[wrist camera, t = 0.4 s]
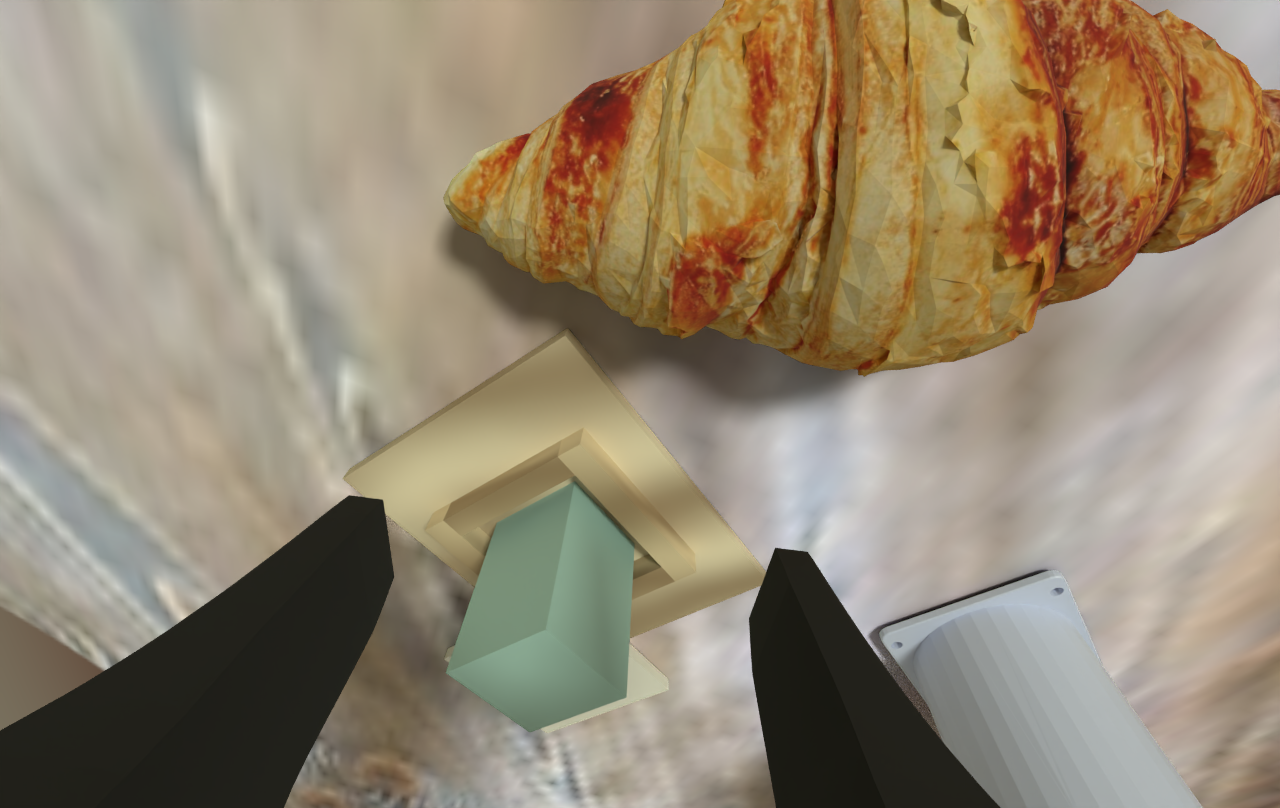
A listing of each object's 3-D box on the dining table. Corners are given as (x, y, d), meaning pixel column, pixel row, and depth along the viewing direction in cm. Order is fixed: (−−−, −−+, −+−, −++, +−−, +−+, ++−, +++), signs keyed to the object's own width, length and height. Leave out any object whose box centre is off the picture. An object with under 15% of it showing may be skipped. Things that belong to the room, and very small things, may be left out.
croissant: (516, 251, 21) (487, 444, 17) (382, -77, 13) (263, 161, 9) (1125, 202, 19) (1249, 409, 15) (1464, -228, 11) (1950, -6, 7)
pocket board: (765, 571, 25) (771, 601, 24) (568, 652, 29) (564, 682, 27) (567, 327, 19) (560, 349, 18) (349, 468, 23) (329, 496, 21)
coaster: (668, 679, 29) (668, 690, 29) (548, 722, 32) (546, 733, 32) (573, 591, 26) (571, 602, 26) (448, 648, 29) (443, 659, 28)
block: (634, 544, 23) (626, 697, 18) (558, 579, 25) (529, 732, 19) (574, 481, 22) (545, 629, 16) (496, 522, 23) (445, 672, 18)
